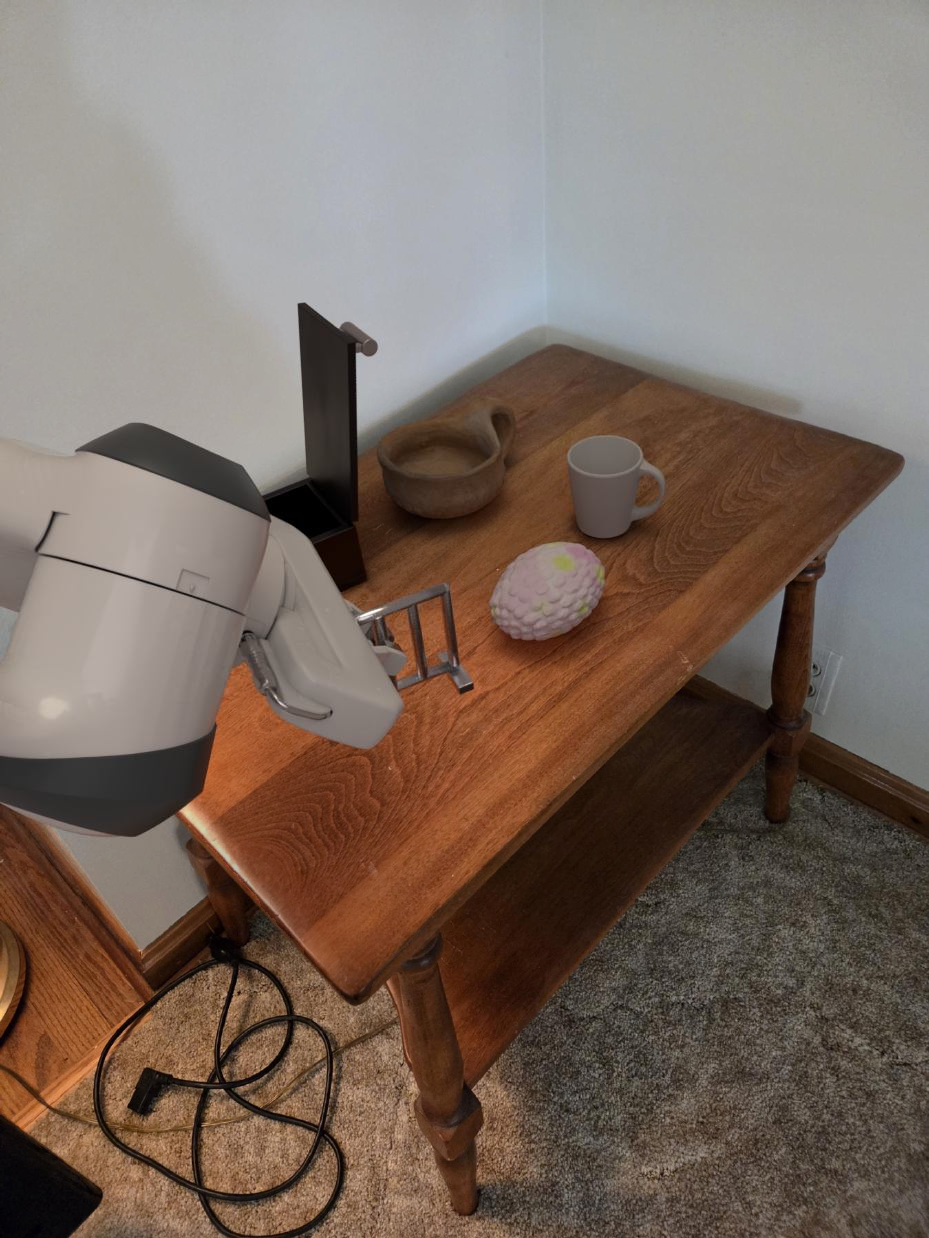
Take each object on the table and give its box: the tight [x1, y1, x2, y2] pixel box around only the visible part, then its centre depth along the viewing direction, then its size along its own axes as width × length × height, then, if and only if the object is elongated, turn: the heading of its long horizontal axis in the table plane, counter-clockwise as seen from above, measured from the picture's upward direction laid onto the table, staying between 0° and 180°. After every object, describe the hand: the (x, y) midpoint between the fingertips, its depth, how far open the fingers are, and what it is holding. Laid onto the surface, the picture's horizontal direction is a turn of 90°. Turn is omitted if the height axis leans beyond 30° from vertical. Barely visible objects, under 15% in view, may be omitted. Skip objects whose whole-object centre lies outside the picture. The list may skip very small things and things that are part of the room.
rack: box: [327, 582, 475, 747], centre depth 64 cm, size 11×4×9 cm, turn 115°
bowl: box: [376, 396, 517, 520], centre depth 101 cm, size 18×14×10 cm
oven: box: [261, 476, 368, 593], centre depth 92 cm, size 17×11×7 cm, turn 121°
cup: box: [566, 434, 667, 539], centre depth 93 cm, size 8×10×8 cm
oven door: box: [296, 302, 379, 523], centre depth 87 cm, size 18×11×4 cm
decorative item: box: [488, 541, 606, 642], centre depth 84 cm, size 9×11×10 cm
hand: (392, 650), depth 64 cm, fingers closed on rack
